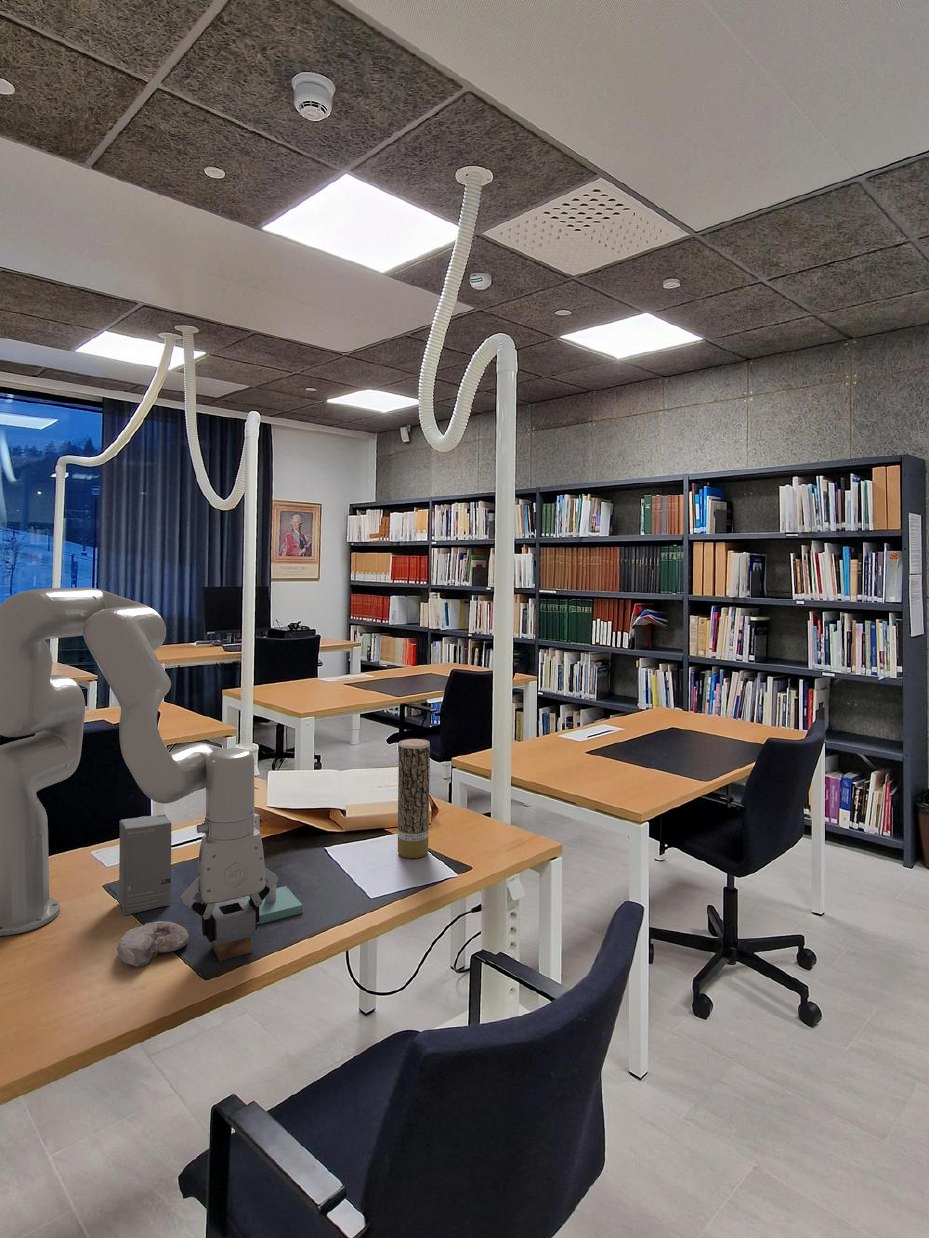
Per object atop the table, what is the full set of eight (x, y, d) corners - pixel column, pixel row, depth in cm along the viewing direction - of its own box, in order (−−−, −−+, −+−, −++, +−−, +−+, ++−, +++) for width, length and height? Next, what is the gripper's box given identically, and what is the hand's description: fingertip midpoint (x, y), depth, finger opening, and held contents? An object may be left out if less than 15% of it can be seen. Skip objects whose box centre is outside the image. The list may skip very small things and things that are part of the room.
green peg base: (253, 925, 127) (253, 889, 126) (238, 904, 134) (238, 870, 134) (302, 912, 132) (302, 878, 131) (285, 893, 139) (285, 860, 139)
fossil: (159, 906, 125) (202, 923, 121) (157, 930, 125) (200, 947, 121) (97, 933, 114) (141, 952, 110) (95, 959, 114) (139, 979, 110)
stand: (219, 960, 115) (219, 935, 115) (211, 946, 119) (211, 922, 119) (250, 952, 118) (250, 927, 118) (242, 938, 122) (241, 914, 122)
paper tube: (434, 852, 160) (436, 741, 159) (416, 862, 155) (417, 748, 153) (409, 845, 164) (411, 737, 162) (391, 855, 158) (392, 743, 157)
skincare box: (124, 916, 129) (122, 830, 128) (118, 901, 135) (116, 818, 134) (173, 905, 133) (173, 822, 132) (166, 890, 139) (165, 810, 138)
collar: (216, 945, 114) (216, 921, 114) (207, 928, 119) (206, 905, 119) (255, 935, 117) (255, 911, 117) (244, 919, 123) (244, 896, 122)
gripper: (179, 844, 109) (180, 958, 111) (290, 823, 119) (289, 928, 120) (169, 828, 115) (170, 936, 117) (275, 810, 125) (275, 910, 126)
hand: (231, 931), depth 118 cm, fingers closed on collar, 6 cm apart
